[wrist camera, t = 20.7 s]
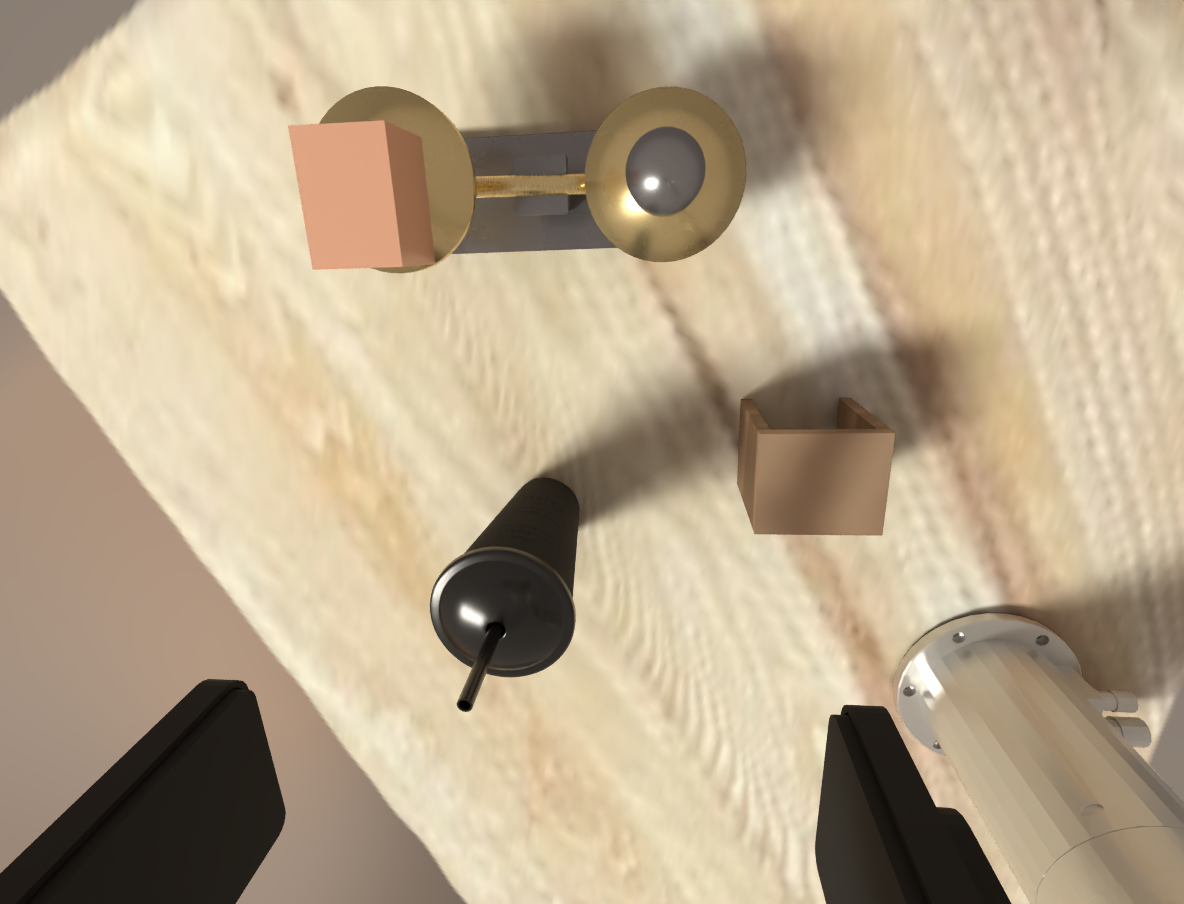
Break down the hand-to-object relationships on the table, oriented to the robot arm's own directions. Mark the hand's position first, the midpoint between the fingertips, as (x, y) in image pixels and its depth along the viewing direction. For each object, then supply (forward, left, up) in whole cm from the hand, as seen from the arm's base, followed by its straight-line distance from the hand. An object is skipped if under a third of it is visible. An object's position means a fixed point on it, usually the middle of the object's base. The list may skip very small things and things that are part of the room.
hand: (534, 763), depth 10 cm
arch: (-11, +5, -32) cm, 35 cm away
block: (+11, -13, -20) cm, 26 cm away
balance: (+4, -11, -32) cm, 34 cm away
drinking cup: (+6, +10, -32) cm, 35 cm away
